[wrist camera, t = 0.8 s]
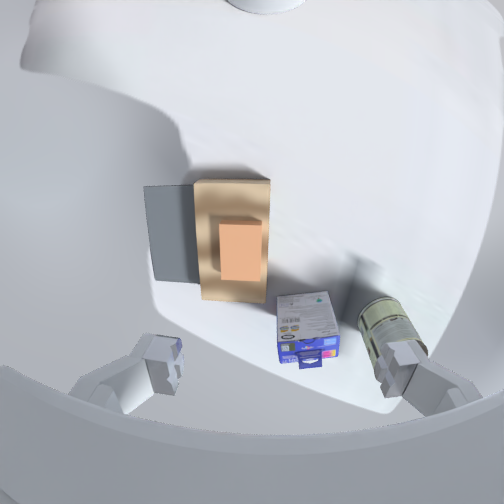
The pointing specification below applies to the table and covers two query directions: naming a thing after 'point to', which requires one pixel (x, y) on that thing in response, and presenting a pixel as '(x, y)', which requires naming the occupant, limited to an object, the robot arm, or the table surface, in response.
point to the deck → (208, 239)
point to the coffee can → (385, 326)
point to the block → (240, 250)
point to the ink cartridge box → (306, 329)
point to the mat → (172, 232)
